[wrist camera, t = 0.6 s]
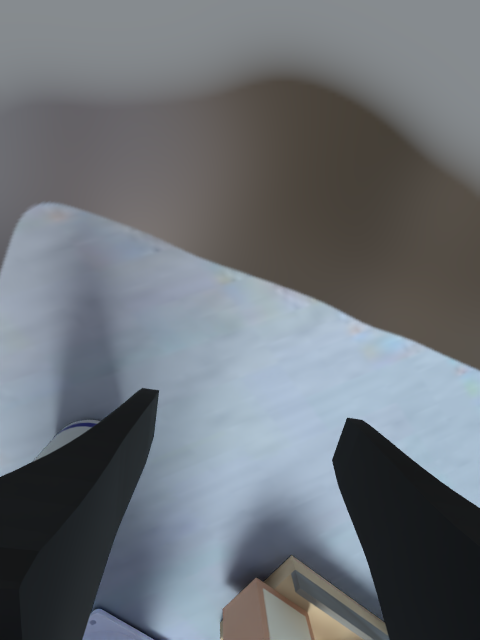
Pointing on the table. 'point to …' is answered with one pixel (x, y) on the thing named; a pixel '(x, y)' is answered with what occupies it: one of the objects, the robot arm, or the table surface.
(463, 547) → the robot arm
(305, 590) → the board
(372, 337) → the table surface
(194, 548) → the table surface
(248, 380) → the table surface
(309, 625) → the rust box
